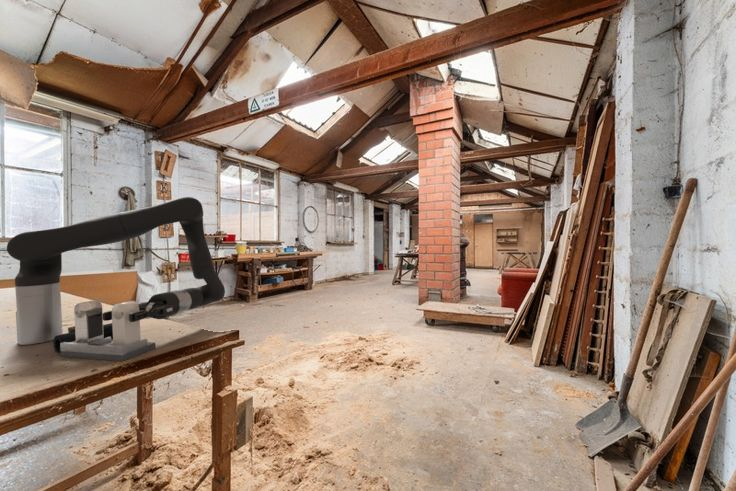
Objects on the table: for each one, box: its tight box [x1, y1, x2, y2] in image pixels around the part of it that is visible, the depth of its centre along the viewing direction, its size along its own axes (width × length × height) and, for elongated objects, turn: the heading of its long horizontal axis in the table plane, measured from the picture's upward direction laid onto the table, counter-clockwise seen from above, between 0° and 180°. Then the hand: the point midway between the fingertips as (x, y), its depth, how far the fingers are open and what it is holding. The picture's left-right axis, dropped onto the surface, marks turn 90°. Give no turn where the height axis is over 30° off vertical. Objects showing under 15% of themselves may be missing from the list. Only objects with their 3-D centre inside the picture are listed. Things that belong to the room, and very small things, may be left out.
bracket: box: [60, 299, 156, 362], centre depth 80 cm, size 20×9×14 cm, turn 78°
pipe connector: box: [52, 322, 113, 355], centre depth 89 cm, size 12×5×15 cm
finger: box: [111, 300, 142, 346], centre depth 79 cm, size 4×4×12 cm
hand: (116, 317), depth 77 cm, fingers open, 8 cm apart
